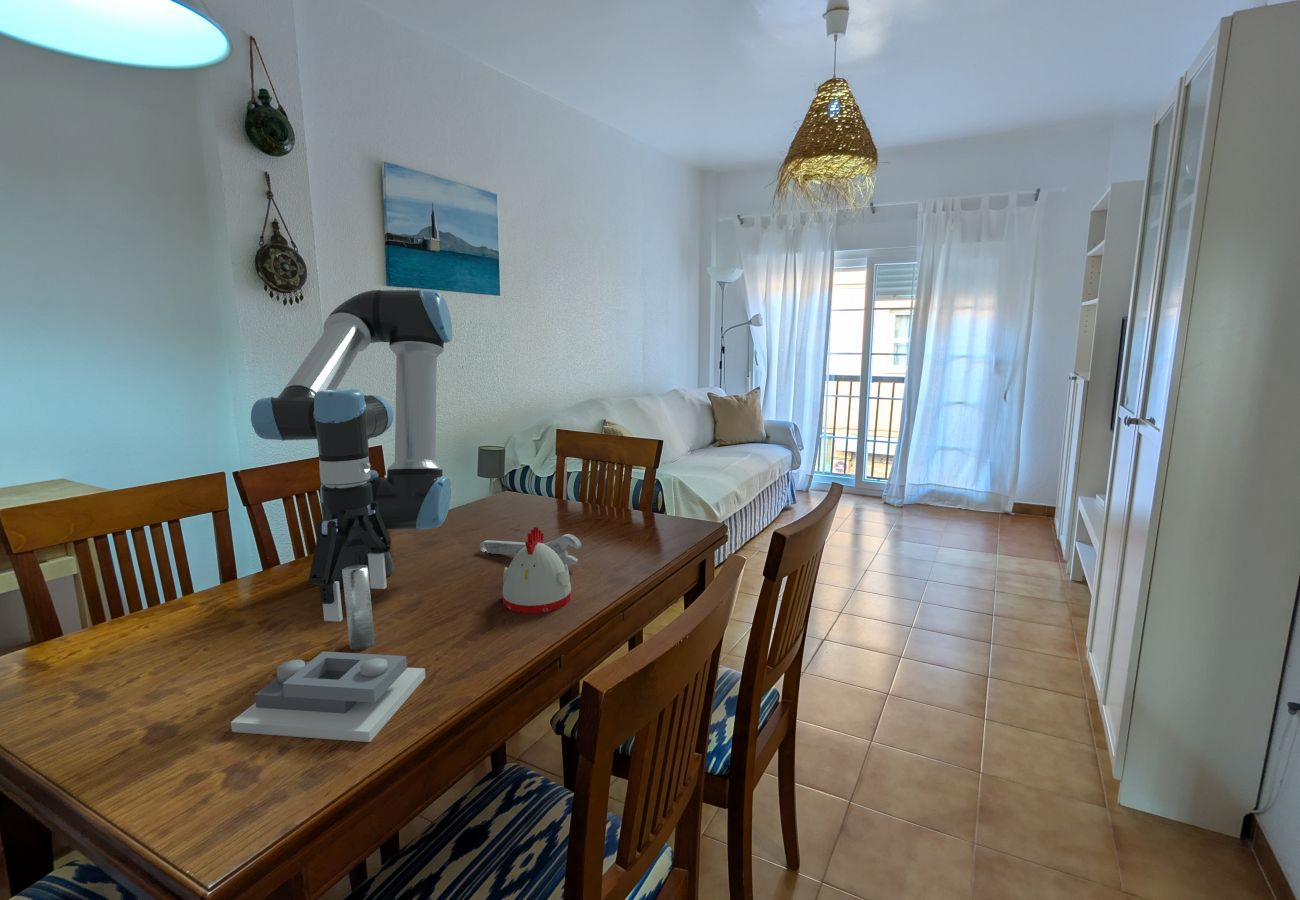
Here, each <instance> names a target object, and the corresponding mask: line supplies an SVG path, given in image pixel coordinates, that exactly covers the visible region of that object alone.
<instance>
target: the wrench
mask: <svg viewBox="0 0 1300 900" xmlns="http://www.w3.org/2000/svg"><path fill="white" fill-rule="evenodd" d="M525 542H526V541H525ZM525 542H522V541H510V540H507V541H506V540H492V539H490V540H489V539H486V540H484V541H482V542H480V543H479V550H480V552H481V551H482V552H481V553H483V552H485V551H487V550H488V551H487V553H486V554H488V553H491V554H490V555H492V554H493V555H514V556H516V554H517V553H518V552H519V551H520V550H521V549H522V548H523V547H525V546H526V544H525ZM543 544H545V545H547V546H548V547H550V548H551V549H552V550H553V551H554V552H555V553H556V554H557V555H558V556H559V557H560V559H561V560H562V562H563V564H564V565H567V566H568V567H569V566H573V565H574V564H577V563H578V561H579V559H578V558H577V557H575V556H573V555H571V554H569V552H568V547H569V546H571V547H573V548H575V549H577V550H579V549H580V548H582V543H581V541H580V539H578V537H576V536H575V535H574V534H570V533H566V534H563V535H561V536H559V537H558V538H556V539H553V540H551V541H549V542H546V543H544V542H543ZM486 546H487V548H486Z"/></svg>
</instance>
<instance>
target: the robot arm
mask: <svg viewBox="0 0 1300 900" xmlns="http://www.w3.org/2000/svg"><path fill="white" fill-rule="evenodd" d="M323 323H324V324H323V326H322V327H323V332H322V335H321V336H320V337H319V339H318V340H317V341H316V343H315V344H314V345H313V347H312V349H311V350H310V351H309V353H308V355H307V356H306V357H305V359H304V360H303V361H302V363H301V364H300V366H299V367H298V369H297V370H296V371H295V373H294V374H293V376H292V377H291V379H290V380H289V381H288V383H287V384H286V386H285V387H284V389H283V390H282V391H281V393H280V394H279V395H278V396H277V397H273V396H268V397H263V398H260V399H257V400H256V401H255V402H254V404H253V405H252V408H251V412H250V421H251V425H252V428H253V430H254V432H255V434H256V436H258V437H259V438H261V439H264V440H273V441H274V440H275V441H276V440H277V441H282V442H285V441H301V440H302V441H303V440H304V441H305V440H306V441H308V440H310V441H311V440H317V448H318V449H317V450H318V463H319V465H318V466H319V477H320V479H319V480H320V483H321V485H320V488H319V490H320V491H319V492H320V494H319V495H320V498H319V499H320V500H319V504H320V509H321V516H322V520H319V521H318V522H317V524H316V526H317V534H316V535H317V537H316V542H315V546H314V552H313V556H312V562H311V567H310V572H309V577H308V583H309V585H319V591H320V600H321V603H322V604H321V605H322V609H323V610H322V612H323V621H324V622H341V621H343V619H344V618H343V610H342V608H343V607H342V599H341V588H344V584H343V574H342V570H343V569H344V568H346V567H348V566H352V565H358V564H362V565H367V566H368V574H369V584H370V589H380V590H385V589H387V586H388V585H387V578H388V577H389V576H390V575H392V574H393V572H394V571H395V566H394V559H393V557H392V555H391V553H390V552H391V546H390V545H391V544H392V539H391V537H390V535H389V533H388V531H407V530H408V531H410V530H412V531H415V530H417V531H423V530H432V529H437V528H439V527H441V526H442V525H443V523H444V522H445V520H446V519H447V516H448V513H449V510H450V505H451V498H452V488H451V486H452V484H451V479H450V478H449V477H448V476H445V475H443V468H442V467H441V465H439V463H438V462H437V461H436V456H437V455H436V452H437V451H436V447H437V446H436V443H437V442H436V440H437V439H436V438H437V435H436V434H437V432H436V431H437V360H438V359H437V358H439V357H440V355H441V354H443V353H444V343H445V344H448V343H450V342H451V341H452V339H453V325H452V324H453V323H452V319H451V315H450V311H449V306H448V303H447V301H446V299H445V297H444V296H443V294H441V293H440V292H439V291H436V290H426V289H425V290H423V289H419V290H418V289H415V290H414V289H413V290H412V289H411V290H410V289H406V290H404V289H401V290H399V289H397V290H394V289H393V290H392V289H390V290H389V289H387V290H380V289H372V290H368V291H363V292H361V293H358V294H356V295H354V296H351V297H350V298H347V300H345V301H344V302H342V303H341V304H340V305H338V306H337V307H336V308H335V309H333V310H332V312H330V314H329V315H328V316H327V318H326V319H325V321H324V322H323ZM375 343H388V344H389V345H388V346H389V347H388V348H389V350H391V352H393V354H395V356H396V357H395V358H396V359H395V362H396V363H395V369H396V370H395V374H396V375H395V420H394V411H393V408H392V406H391V405H390V403H389V402H388V401H387V400H386V399H384V398H383V397H380V396H379V395H374V394H373V395H371V394H369V395H366V394H364V392H363V391H361V390H360V389H356V388H355V389H354V388H348V389H347V388H341V389H338V387H339V386H340V384H341V382H342V380H343V379H344V378H345V375H346V373H347V372H348V371H349V369H350V367H351V366H352V363H353V362H354V361H355V358H356V357H357V355H358V354H359V352H363V351H364V350H365V349H367V348H368V346H370V344H375ZM393 422H395V423H394V425H395V426H394V427H395V428H394V429H395V430H394V431H395V433H394V435H395V436H394V437H395V438H394V461H393V463H392V464H391V465H390V466H389V467H388V468H387V470H386V471H387V472H386V477H379V473H378V472H377V471H376V470H374V469H371V463H370V458H369V457H370V452H369V451H370V450H369V440H370V439H372V438H377V437H380V436H381V435H383V434H384V433H385V432H387V431H388V430H389V429H390V428H391V426H392V424H393Z"/></svg>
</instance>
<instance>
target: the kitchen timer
mask: <svg viewBox="0 0 1300 900" xmlns="http://www.w3.org/2000/svg"><path fill="white" fill-rule="evenodd" d="M544 535H545V534H544V533H542V530H541V529H539V527H535V526H534V527H533V529H530V533H527V541H525V544H526V546H525V547H523V548H522V549H521V550H520V551H519V552H518V553H517V554H516V555H514V557H513V559H512V560H511V562H510V563H509V566H508V567H504V569H503V576H502V577H503V578H502V582H503V586H502V605H503V606H504V605H505V606H506V607H507V608H506V607H505V608H506V609H508V608H509V609H508V610H510V609H511V610H510V611H512V610H514V611H513V612H516V611H517V612H516V613H520V612H522V613H521V614H541V613H547V612H551V611H552V612H553V611H555V610H559V609H561V608H562V607H565V606H566V605H567V604H569V602H571V600H572V584H571V581H570V579H571V578H570V572H569V566H567V565H564V564H563V562H562V560H561V559H560V557H559V556H558V555H557V554H556V553H555V552H554V551H553V550H552V549H551V548H550V547H548V546H547V545H545V543H544V538H545V537H544ZM543 543H544V544H543ZM570 599H571V600H570ZM560 607H561V608H560Z"/></svg>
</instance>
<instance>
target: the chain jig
mask: <svg viewBox="0 0 1300 900" xmlns="http://www.w3.org/2000/svg"><path fill="white" fill-rule="evenodd" d="M276 673H277V674H276V675H277V677H275V678H274V679H273V680H271V682H269V683H267V684H266V685H265V686H264V687H263V688H261V689H260V690H258V691H257V692H256V693H255V694H254V701H255V702H254V703H253V704H252V705H251V706H249V707H248V708H247V709H246V710H244V711H243V712H241V713H240V714H239V715H238V716H236V717H235V718H233V720H232V721H230V727H231V732H232V733H243V734H254V735H257V734H259V735H267V736H268V735H269V736H270V735H271V736H279V737H280V736H281V737H282V736H283V737H295V738H296V737H298V738H311V739H324V740H337V741H348V742H349V741H351V742H365V743H370V742H372V741H373V739H374V738H375V737H376V736H377V735H378V734H379V732H380V731H381V730H382V729H383V728H384V726H385V725H387V724H388V722H389V721H390V719H392V717H393V716H394V715H395V714H396V712H397V711H398V710H399V709H400V708H401V707H402V706H403V704H405V702H406V700H408V698H410V696H411V695H412V694H413V693H414V692H415V690H416V689H417V688H418V687H419V686H420V685H421V684H422V682H423V681H424V680H425V679H426V668H425V667H424V668H422V667H408V663H407V656H406V655H392V654H375V653H359V652H358V653H355V652H343V651H342V652H340V651H325V650H324V651H321V652H320V653H319V654H318V655H317V656H315V657H313V659H311V660H310V661H304V660H303V659H292V660H288V661H287V660H286V661H285V662H283V663H280V664H279V665H278V666H277V667H276Z"/></svg>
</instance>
